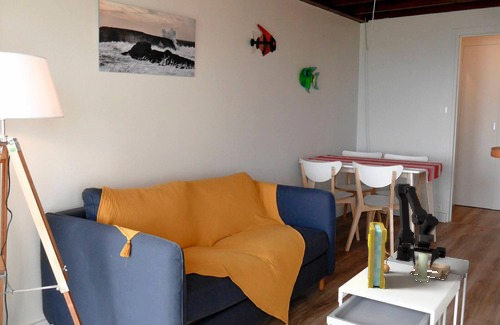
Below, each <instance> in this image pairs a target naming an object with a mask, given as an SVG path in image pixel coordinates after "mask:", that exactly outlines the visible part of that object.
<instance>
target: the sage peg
mask: <svg viewBox="0 0 500 325" xmlns="http://www.w3.org/2000/svg"><path fill="white" fill-rule="evenodd" d="M417 261H418V275H417V276H415V275H414V280H415V279H416V280H417V281H416V280H415V281H416V282H418V281H421V282H420V283H422V282H427V281H429V282H430V278H428V277H427V268H428V262H429V253H426V252H419V253H418V259H417ZM427 283H428V282H427Z"/></svg>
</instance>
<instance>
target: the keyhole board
mask: <svg viewBox="0 0 500 325" xmlns="http://www.w3.org/2000/svg"><path fill="white" fill-rule="evenodd" d="M413 269H415V271H412V270H413ZM412 270H411V271H410V272H409V274H410V273H412V274H418V260H417V261H415V266H414V265H413V268H412ZM427 270H432V271H437V272H438V273H432V272H427V276H430V277H435V278H440V279H445V277H446V276H447V277H448V275H449V274H450V272H451V265H449V264H443V263H436V262H434V263H433V265H432V267H431V268H430V261H428V268H427ZM448 273H449V274H448ZM447 274H448V275H447ZM447 277H446V278H447ZM445 280H446V279H445Z"/></svg>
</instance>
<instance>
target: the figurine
mask: <svg viewBox="0 0 500 325" xmlns="http://www.w3.org/2000/svg"><path fill="white" fill-rule="evenodd" d="M387 255H388V256H390V258H391V259H392V260H394V257H393V256H392V255H391V254H390V253H389V252H387V249H386V248H385V260H386V261H385V263H384V274H387V273H389V272H390V270H391V267H390V266H389V265H388V261H389V259H388V256H387Z"/></svg>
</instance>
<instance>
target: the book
mask: <svg viewBox="0 0 500 325" xmlns="http://www.w3.org/2000/svg"><path fill="white" fill-rule="evenodd" d="M368 228H369V231H368V234H367V247H368V258H367V259H368V261H367V288H369V289H374V287H375V286H377V287H379V290H381V289H382V290H385V286H386V277H385V273H384V264H385V262H386V261H385V260H386V259H385V249H386V242H387V237H388V234H387V233H388V231H387V228H385V225H384V223H383V222H378V221H371V222H369V227H368Z"/></svg>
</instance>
